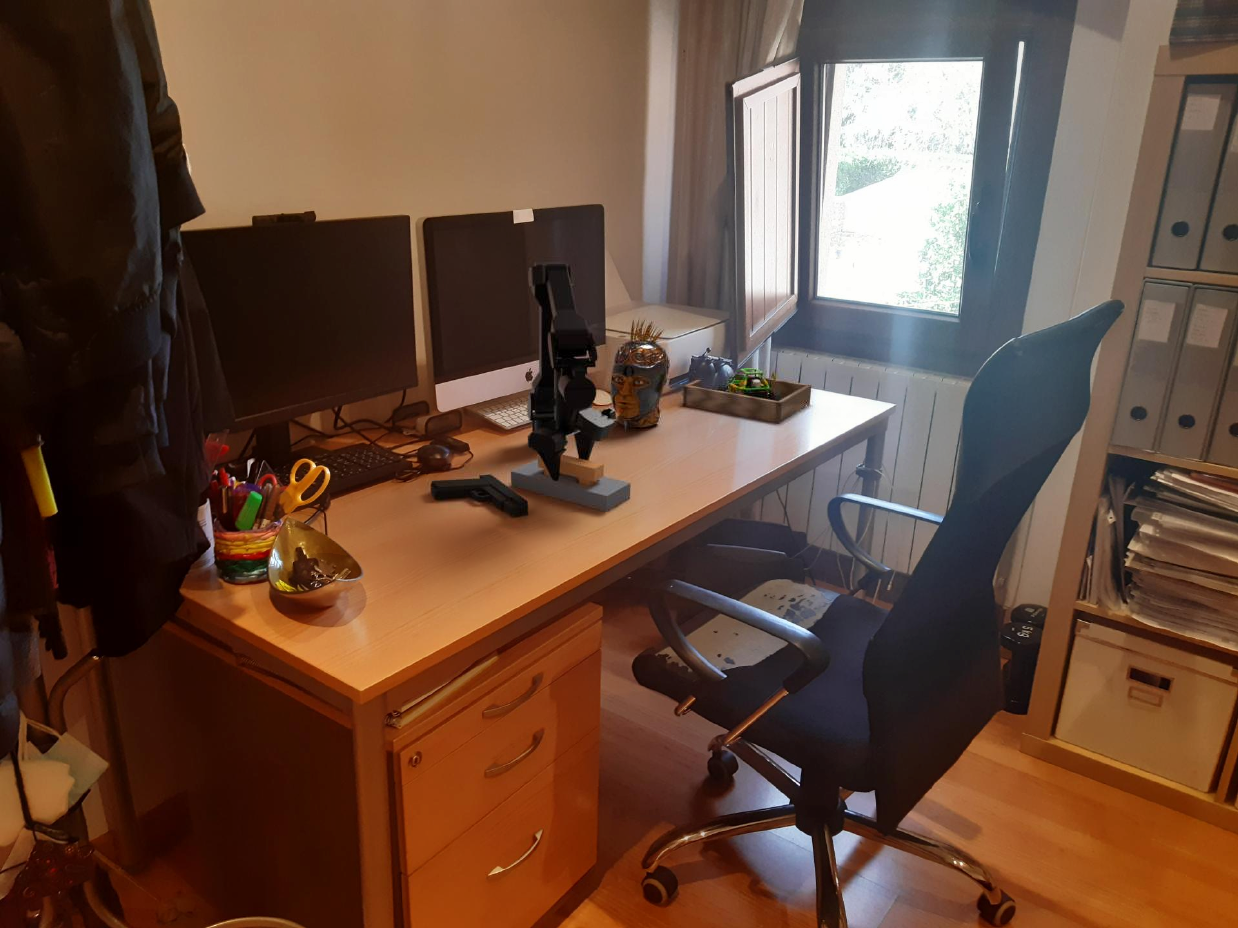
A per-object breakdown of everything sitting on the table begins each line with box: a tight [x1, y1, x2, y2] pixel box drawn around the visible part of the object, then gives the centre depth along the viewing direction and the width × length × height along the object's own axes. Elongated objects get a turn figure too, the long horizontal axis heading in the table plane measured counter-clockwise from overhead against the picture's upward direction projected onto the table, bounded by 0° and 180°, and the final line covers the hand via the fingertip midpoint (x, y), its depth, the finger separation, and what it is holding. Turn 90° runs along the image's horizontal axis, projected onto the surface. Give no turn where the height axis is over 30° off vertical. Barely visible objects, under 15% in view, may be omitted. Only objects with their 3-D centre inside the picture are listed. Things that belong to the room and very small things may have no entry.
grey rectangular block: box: [510, 459, 631, 512], centre depth 173 cm, size 22×8×3 cm, turn 58°
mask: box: [609, 317, 671, 433], centre depth 211 cm, size 12×21×25 cm, turn 157°
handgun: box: [430, 473, 529, 518], centre depth 167 cm, size 3×19×12 cm
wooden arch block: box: [537, 453, 605, 486], centre depth 172 cm, size 13×3×6 cm, turn 58°
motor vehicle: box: [718, 367, 781, 406], centre depth 229 cm, size 12×19×11 cm, turn 13°
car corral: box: [682, 372, 812, 424], centre depth 231 cm, size 26×20×5 cm
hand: (569, 473), depth 172 cm, fingers open, 9 cm apart
